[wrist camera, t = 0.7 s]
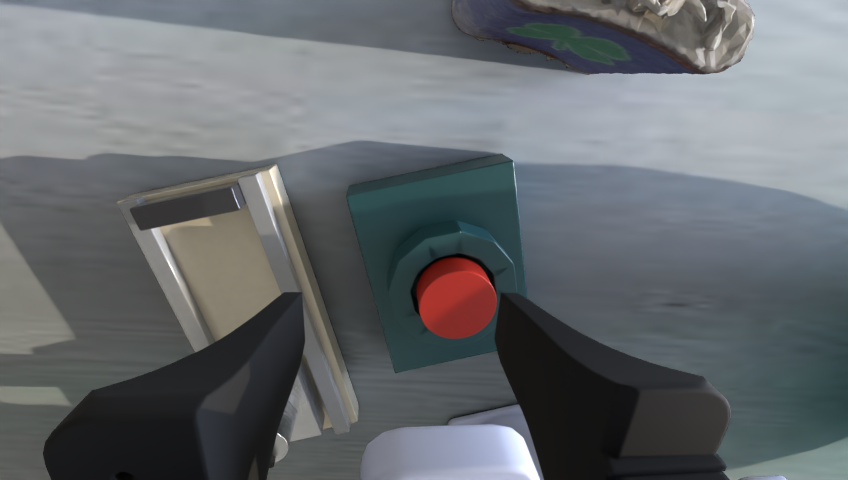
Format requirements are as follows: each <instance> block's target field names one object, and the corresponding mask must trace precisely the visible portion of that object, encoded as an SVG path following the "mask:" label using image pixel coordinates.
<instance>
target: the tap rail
mask: <svg viewBox="0 0 848 480" xmlns="http://www.w3.org/2000/svg"><path fill="white" fill-rule="evenodd" d="M117 204H118V206H119V208H120V210H121V212H122V214H123V216H124V218H125V220H126V222H127V224H128V225H129V227H130V229H131V231H132V233H133V235H134V237H135V239H136V241H137V243H138V245H139V246H140V248H141V250H142V252H143V254H144V256H145V258H146V260H147V262H148V264H149V266H150V267H151V269H152V271H153V273H154V275H155V277H156V279H157V281H158V283H159V285H160V287H161V289H162V290H163V292H164V294H165V296H166V298H167V300H168V302H169V304H170V306H171V308H172V310H173V311H174V313H175V315H176V317H177V319H178V321H179V323H180V325H181V327H182V329H183V331H184V332H185V334H186V336H187V338H188V340H189V342H190V344H191V346H192V348H193V350H194V352H195V353H196V352H198V351H200V350H202V349H204V348H205V347H207V346H209V345H211V344H213V343H214V342H216V341H218V340H220V339H221V338H223V337H224V336H226V335H228V334H229V333H231V332H232V331H234V330H235V329H236V328H238V327H239V326H241V325H242V324H244V323H245V322H246V321H248V320H249V319H251V318H252V317H253V316H255V315H256V314H257V313H258V312H260V311H261V310H262V309H264V308H265V307H266V306H267V305H269V304H270V303H271V302H272V301H273V300H275V299H276V298H277V297H278V296H280V295H281V294H282V293H284V292H302V298H303V314H304V329H305V345H304V350H303V355H302V358H303V360H304V363H305V365H306V368H307V370H308V373H309V375H310V378H311V380H312V383H313V386H314V388H315V391H316V393H317V396H318V398H319V401H320V403H321V406H322V409H323V411H324V414H325V419H324V425H323V429H327V428H332V427H333V429H334V432H335V434H336V435H337V434H342V433H346V432H350V423H354V422H358V410H359V405H358V402H357V399H356V396H355V393H354V390H353V387H352V384H351V381H350V378H349V375H348V372H347V369H346V366H345V363H344V361H343V358H342V355H341V352H340V349H339V346H338V343H337V340H336V337H335V334H334V331H333V328H332V325H331V322H330V319H329V316H328V314H327V311H326V308H325V305H324V302H323V299H322V296H321V293H320V290H319V287H318V284H317V281H316V278H315V275H314V272H313V269H312V266H311V264H310V261H309V258H308V255H307V252H306V249H305V246H304V243H303V240H302V237H301V234H300V231H299V228H298V225H297V222H296V219H295V217H294V214H293V211H292V208H291V205H290V202H289V199H288V196H287V193H286V190H285V187H284V184H283V181H282V178H281V175H280V172H279V170H278V167H277V165H276V164H275V165H270V166H265V167H261V168H256V169H251V170H246V171H242V172H237V173H232V174H227V175H223V176H218V177H213V178H208V179H203V180H199V181H194V182H189V183H184V184H180V185H175V186H170V187H165V188H161V189H156V190H151V191H146V192H141V193H137V194H133V195H130V196H128V197H126V198H124V199H122V200H119V201H117Z"/></svg>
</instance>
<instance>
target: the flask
mask: <svg viewBox="0 0 848 480" xmlns="http://www.w3.org/2000/svg"><path fill="white" fill-rule="evenodd" d="M452 16H453V20H454V22H455V24H456V25H457V27H458V28H459V29H460V30H462V31H463V32H465V33H467V34H469V35H472V36H474V37H475V38H477V39H478V40H479V39H480V40H483V41H484V40H485V39H493V40H495V41H498V42H501V43H502V44H503V45H504V44H505V45H507V47H508V48H510V49H514V50H516V52H517V53H518V52H523V53H524V54H528V53H530V54H531V52H532V53H539V52H540V53H542V54H544V55H546V59H547V61H548V60H549V59H550V60H552V59H553V60H560V61H562V62H563V63H564V64H565V65H566V68H567V67H570V68H572V69H575V70H576V71H578V72H582V73H584V74H586V75H589V74H599V73H610V74H612V73H623V74H637V73H656V74H661V73H666V74H682V73H689V74H710V73H718V72H722V71H724V70H726V69H728V68H729V67H731V66H732V65H734V64H736V63H738V62H740V61H741V59H742V58H743V56H744V54H745V52H746V49H747V47H748V45H749V43H750V41H751V40H752V36H753V29H754V20H755V15H754V13H753V12H752V10H751V8H750V6H749V3H747V2H746V1H745V0H453V2H452Z"/></svg>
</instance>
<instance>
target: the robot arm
mask: <svg viewBox="0 0 848 480" xmlns="http://www.w3.org/2000/svg"><path fill="white" fill-rule="evenodd" d="M494 340H495V344H496V348H497V352H498V355H499V359H500V362H501V364H502V367H503V369H504V371H505V374H506V376H507V378H508V381H509V383H510V385H511V387H512V390H513V392H514V394H515V396H516V399H517V401H518V403H519V404H517V405H512V406H508V407H503V408H499V409H494V410H490V411H485V412H481V413H476V414H472V415H467V416H463V417H458V418H454V419H451V420H450V421H449V422H448V426H423V427H402V428H398V429H394V430H389V431H385V432H382V433H381V434H380V435H379V436H377V437H376V438H375V439H373V440H372V441H371V442H369V443H368V444H367V446H366V449H365V451H364V454H363V457H362V459H361V476H360V480H729V479H728V477H727V476H726V475H725V474H724V473H723V472H722V471H725V469H726V464H725V462H724V461H723V460H722V459H721V458H720V457H719V456H718V454H717V453H716V452H717V450H718V448H719V446H720V443H721V441H722V439H723V437H724V435H725V432H726V430H727V428H728V425H729V421H730V417H731V412H730V405H729V403H728V401H727V399H726V398H725V397H724V396H723V395H722V394H721V393H720V392H719V391H718V390H717V389H716V388H714V387H713V386H712V385H711V384H710V383H709V382H708V381H707V380H706V379H705V378H704V377H702V376H698V375H694V374H690V373H686V372H682V371H678V370H674V369H670V368H666V367H663V366H660V365H656V364H653V363H650V362H647V361H644V360H641V359H638V358H635V357H632V356H630V355H627V354H625V353H622V352H620V351H617V350H615V349H612V348H610V347H608V346H606V345H603V344H601V343H599V342H597V341H595V340H593V339H591V338H589V337H587V336H585V335H583V334H581V333H580V332H578V331H576V330H574V329H573V328H571V327H569V326H568V325H566V324H564V323H563V322H561V321H560V320H558V319H556V318H555V317H553V316H552V315H550V314H549V313H547V312H546V311H544V310H543V309H541V308H540V307H538V306H537V305H536V304H534V303H533V302H531V301H530V300H528V299H527V298H525V297H524V296H522V295H520V294H518V293H501V296H500V302H499V309H498V316H497V323H496V330H495V336H494ZM304 345H305V329H304V314H303V298H302V292H284V293H282V294H281V295H280V296H278V297H277V298H276V299H275V300H273V301H272V302H271V303H270V304H269V305H267V306H266V307H265V308H264V309H262V310H261V311H260V312H258V313H257V314H256V315H255V316H253V317H252V318H251V319H249V320H248V321H246V322H245V323H244V324H242V325H241V326H239V327H238V328H236V329H235V330H234V331H232V332H231V333H229V334H228V335H226V336H224V337H223V338H221V339H220V340H218V341H216V342H214V343H213V344H211V345H209V346H207V347H205V348H204V349H202V350H200V351H198V352H196V353H193V354H191V355H189V356H187V357H185V358H183V359H181V360H179V361H177V362H174V363H172V364H170V365H167V366H165V367H162V368H160V369H157V370H155V371H152V372H149V373H147V374H144V375H141V376H138V377H135V378H132V379H129V380H126V381H123V382H119V383H116V384H113V385H109V386H106V387H103V388H99V389H96V390H92V391H91V392H90V393H89V394H88V395H87V396H86V397H85V398H84V399H83V400H82V401H81V402H80V403H79V404H78V405H77V406H76V407H75V408H74V410H73V411H72V412H71V413H70V414H69V415H68V416H67V417H66V418H65V419H64V420H63V421H62V422H61V423H60V424H59V425H58V426H57V427H56V429H55V430H54V431H53V432H52V433H51V435H50V436H49V437H48V439H47V440H46V442H45V446H44V451H43V456H44V460H45V465H46V468H47V470H48V473H49V475H50V477H51V480H266V479H267V475H268V470H269V466H270V461H271V457H272V453H273V448H274V444H275V440H276V436H277V432H278V429H279V425H280V422H281V419H282V416H283V413H284V410H285V408H286V405H287V402H288V399H289V396H290V394H291V391H292V388H293V385H294V382H295V379H296V376H297V374H298V371H299V368H300V364H301V360H302V355H303V350H304ZM739 480H786V479H785V478H784V477H783V476H779V475H775V476H757V477H745V478H740V479H739Z"/></svg>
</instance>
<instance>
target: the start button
mask: <svg viewBox="0 0 848 480" xmlns="http://www.w3.org/2000/svg"><path fill="white" fill-rule="evenodd" d="M417 300H418V306H419V313H420V317H421V319H422V321H423V323H424V325H425V326H426V327H427V328H428V329H429V330H430V331H431V332H433V333H434V334H436V335H438V336H441V337H444V338H449V339H460V338H465V337H469V336H471V335H474V334H476V333H477V332H479V331H481V330H482V329H483V328H484V327H485V326H486V325H487V324H488V323H489V322H490V321H491V319H492V317H493V315H494V313H495V310H496V305H497V297H496V293H495V290H494V288H493V286H492V284H491V282H490V281H489V279H488V277H487V275H486V273H485V271H484V270H483V269H482V267H481V266H479V265H478V264H477V263H476V262H474V261H472V260H470V259H467V258H463V257H448V258H444V259H441V260H438V261H436V262H435V263H433V264H431V265H430V266H429V267H428V268H427V269H426V270H425V271H424V272H423V273H422V275H421V277H420V279H419V281H418V284H417Z"/></svg>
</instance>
